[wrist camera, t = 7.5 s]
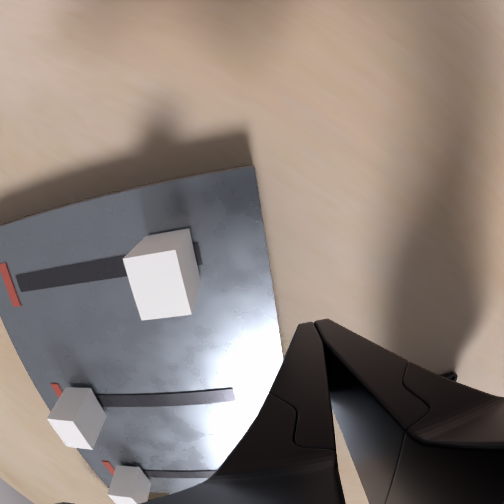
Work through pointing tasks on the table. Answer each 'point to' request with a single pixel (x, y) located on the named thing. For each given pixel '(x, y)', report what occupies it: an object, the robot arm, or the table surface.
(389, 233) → the table surface
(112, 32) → the table surface
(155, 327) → the panel
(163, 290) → the handle
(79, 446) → the handle mid
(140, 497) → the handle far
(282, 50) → the table surface
